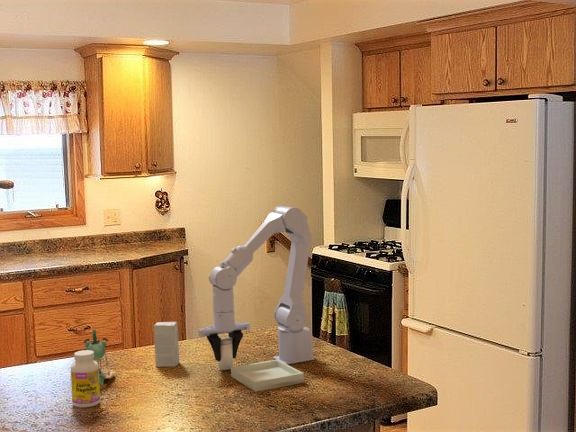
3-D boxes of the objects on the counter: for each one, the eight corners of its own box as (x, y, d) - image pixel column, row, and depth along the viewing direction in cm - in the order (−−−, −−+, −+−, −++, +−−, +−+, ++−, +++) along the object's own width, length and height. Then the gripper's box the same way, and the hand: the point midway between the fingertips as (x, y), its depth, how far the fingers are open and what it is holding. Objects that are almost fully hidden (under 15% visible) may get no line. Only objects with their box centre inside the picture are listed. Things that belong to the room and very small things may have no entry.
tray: (277, 368, 218) (277, 359, 218) (303, 382, 205) (303, 373, 204) (231, 376, 212) (230, 367, 211) (255, 391, 198) (254, 382, 198)
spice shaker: (229, 364, 220) (228, 336, 219) (235, 368, 216) (234, 339, 215) (215, 366, 218) (214, 338, 217) (221, 370, 214) (220, 342, 214)
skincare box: (179, 362, 226) (178, 321, 225) (176, 367, 222) (174, 325, 220) (159, 362, 227) (157, 321, 225) (155, 366, 222) (153, 325, 221)
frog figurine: (73, 392, 202) (70, 334, 202) (83, 378, 220) (80, 325, 220) (111, 389, 203) (108, 332, 203) (118, 376, 221) (115, 323, 221)
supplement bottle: (72, 409, 189) (69, 357, 187) (72, 401, 195) (69, 350, 194) (101, 406, 190) (98, 354, 189) (99, 398, 197) (97, 347, 195)
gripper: (241, 304, 222) (243, 351, 224) (193, 311, 216) (195, 359, 217) (252, 309, 216) (254, 357, 218) (203, 316, 210) (205, 365, 211)
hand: (225, 358), depth 217 cm, fingers closed on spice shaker, 4 cm apart
